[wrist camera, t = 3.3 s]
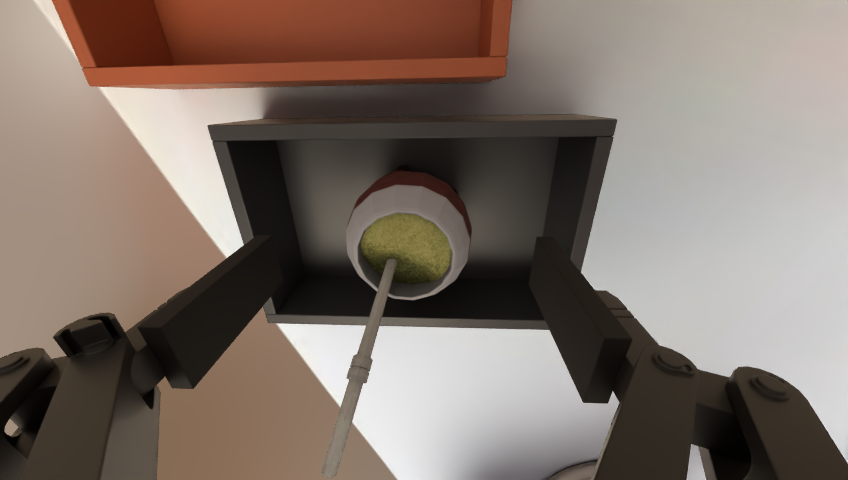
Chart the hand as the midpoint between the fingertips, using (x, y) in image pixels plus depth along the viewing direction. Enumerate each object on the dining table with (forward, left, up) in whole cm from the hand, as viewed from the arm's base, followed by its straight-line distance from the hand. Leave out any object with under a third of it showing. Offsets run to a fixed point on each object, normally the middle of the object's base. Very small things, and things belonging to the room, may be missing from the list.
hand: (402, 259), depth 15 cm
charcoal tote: (0, 0, -8) cm, 8 cm away
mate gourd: (0, 0, -8) cm, 8 cm away
